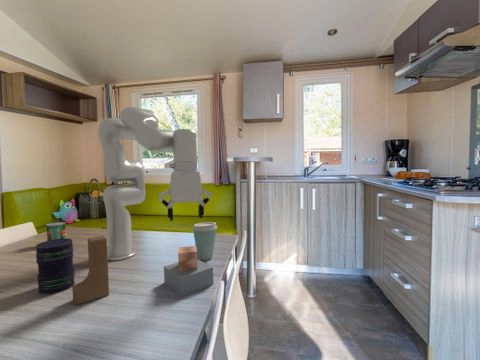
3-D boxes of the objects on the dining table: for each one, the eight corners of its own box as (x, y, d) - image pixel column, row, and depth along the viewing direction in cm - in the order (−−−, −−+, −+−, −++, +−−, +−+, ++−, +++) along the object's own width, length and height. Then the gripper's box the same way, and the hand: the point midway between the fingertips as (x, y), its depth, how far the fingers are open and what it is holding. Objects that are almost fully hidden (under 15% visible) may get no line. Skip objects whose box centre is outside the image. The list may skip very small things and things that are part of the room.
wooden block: (74, 306, 71) (71, 244, 70) (72, 299, 74) (69, 240, 73) (109, 295, 77) (106, 238, 76) (106, 289, 80) (103, 235, 79)
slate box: (180, 297, 76) (180, 278, 75) (164, 283, 85) (163, 266, 84) (213, 284, 83) (213, 267, 83) (195, 273, 92) (194, 257, 92)
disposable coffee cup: (187, 259, 105) (186, 224, 105) (202, 251, 115) (202, 219, 114) (208, 263, 101) (207, 227, 100) (222, 255, 110) (221, 221, 109)
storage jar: (45, 297, 76) (43, 249, 75) (32, 289, 81) (30, 244, 80) (80, 284, 84) (78, 241, 83) (67, 277, 89) (64, 236, 88)
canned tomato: (69, 243, 129) (68, 222, 128) (51, 248, 122) (50, 226, 121) (62, 241, 133) (61, 221, 132) (44, 245, 126) (43, 224, 126)
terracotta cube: (178, 271, 80) (178, 253, 80) (179, 264, 86) (178, 247, 86) (197, 269, 81) (197, 251, 81) (196, 262, 87) (196, 245, 87)
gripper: (158, 167, 75) (159, 223, 76) (213, 167, 81) (214, 218, 82) (157, 167, 82) (158, 218, 83) (208, 167, 88) (208, 214, 89)
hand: (186, 218), depth 83 cm, fingers open, 9 cm apart
